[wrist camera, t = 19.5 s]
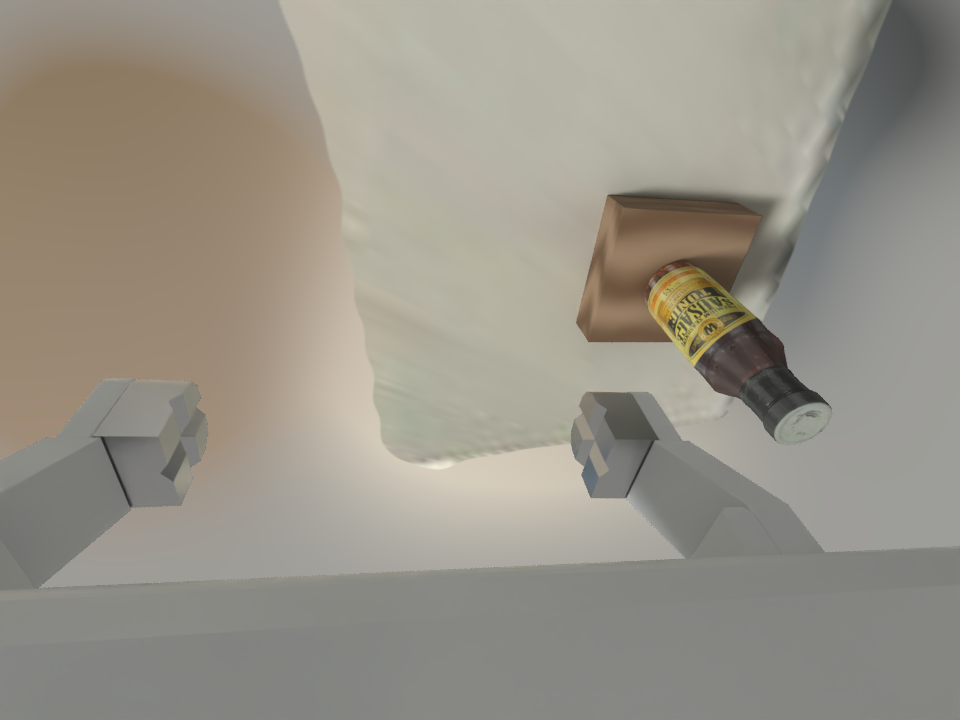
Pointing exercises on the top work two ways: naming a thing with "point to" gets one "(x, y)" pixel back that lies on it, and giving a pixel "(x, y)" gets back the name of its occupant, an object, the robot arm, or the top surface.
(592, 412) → the robot arm
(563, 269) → the top surface
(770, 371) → the sauce bottle
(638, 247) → the block
